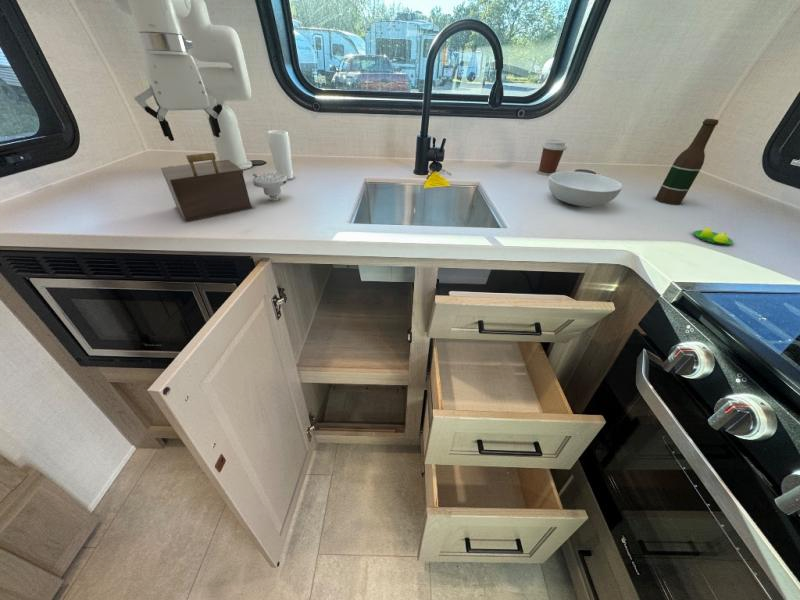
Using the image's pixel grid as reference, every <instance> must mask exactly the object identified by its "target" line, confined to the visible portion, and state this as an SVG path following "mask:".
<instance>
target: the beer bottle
mask: <svg viewBox="0 0 800 600" xmlns="http://www.w3.org/2000/svg"><path fill="white" fill-rule="evenodd" d="M717 125H719V120H718V119H717V118H716V119H715V118H705V119H704V120H703V121H702V125H701V127H700V129H699V130H698V132H697V134H696V135H695V137H694V138H693V140H692V142H691V143H690V144H689V146H688V147H687V148H686V149H684V150H683V151H681V152H680V153H679V155H678V156H677V157H676V158H675V160H674V162H673V164H672V165H671V167H670V169H669V171H668V173H667V175H666V176H665V178H664V180H663V183H662V185H661V186H660V188H659V190H658V192H657V194H656V196H655V200H656V201H658V202H660V203H664V204H668V205H680V204H682V202H683V201H684V200H685V198H686V195H687V194H688V192H689V190H690V189H691V187H692V185H693V183H694V182H695V180H696V178H697V177H698V175H699V173H700V171H701V170H702V167H703V165H704V163H705V158H706V154H705V149H706V146H707V144H708V142H709V140H710V138H711V137H712V134H713V132H714V130H715V128H716V127H717Z"/></svg>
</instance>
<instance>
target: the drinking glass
mask: <svg viewBox="0 0 800 600" xmlns="http://www.w3.org/2000/svg"><path fill="white" fill-rule="evenodd" d="M266 137H267V142H268V146H269V149H270V153H271V156H272V161H273V164H274V167H275V171H276V174H280V175H284V176H286V177H287V181H288V180H292V179H293V178H294V172H293V162H292V149H291V141H290V135H289V132H288V131H287V130H283V129H273V130H268V131H267V132H266Z"/></svg>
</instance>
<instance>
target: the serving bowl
mask: <svg viewBox="0 0 800 600" xmlns="http://www.w3.org/2000/svg"><path fill="white" fill-rule="evenodd" d="M548 176H549V177H548V189H549V191H550V193H551V194H552V195H553V197H554V198H556V199H558V200H559V201H561V202H564V203H566V204H569V205H572V206H576V207H598V206H603V205H607V204H608V203H610V202H612V201H613V200H614V199H615V198H617V197H618V195H619V194H620V192H621V191H622V189H623V185H622V183H621V182H620V181H618V180H617V179H613V178H611V177H608V176H604V175H601V174H596V173H592V172H585V171H575V170H564V171H563V170H562V171H555V173H552V174H551V175H548Z"/></svg>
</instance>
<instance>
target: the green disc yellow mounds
mask: <svg viewBox="0 0 800 600" xmlns="http://www.w3.org/2000/svg"><path fill="white" fill-rule="evenodd" d="M693 234H694V235H695V236H696V237H697V238H698V239H700V240H702V241H704V242H707V243H711V244H715V245H728V244H729V245H730V244H733V243H734V241H733V239H732V238H730V237H729V236H728V235H727V232H722V233H719V232H714V231H712V230H711V228H710V227H709V226H708V227H706V228H704V229H703V230H701V229H699V230H698V229H697V230H694V232H693Z"/></svg>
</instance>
